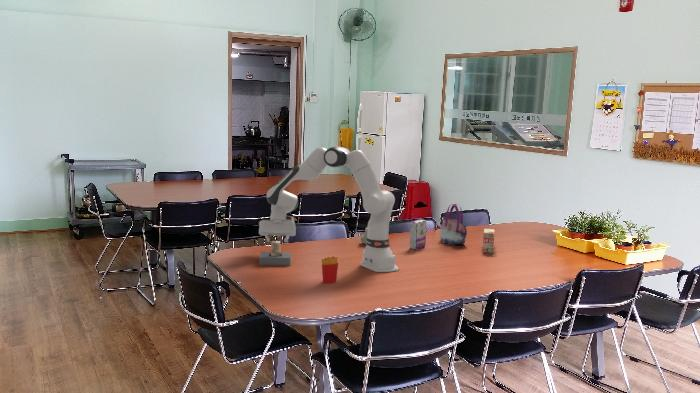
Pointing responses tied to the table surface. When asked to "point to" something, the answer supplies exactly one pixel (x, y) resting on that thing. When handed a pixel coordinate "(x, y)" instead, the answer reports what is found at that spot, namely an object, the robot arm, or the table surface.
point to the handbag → (453, 228)
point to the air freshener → (364, 236)
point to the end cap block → (275, 259)
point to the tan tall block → (275, 248)
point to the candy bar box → (417, 234)
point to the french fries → (329, 269)
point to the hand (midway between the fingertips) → (276, 241)
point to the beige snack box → (488, 240)
